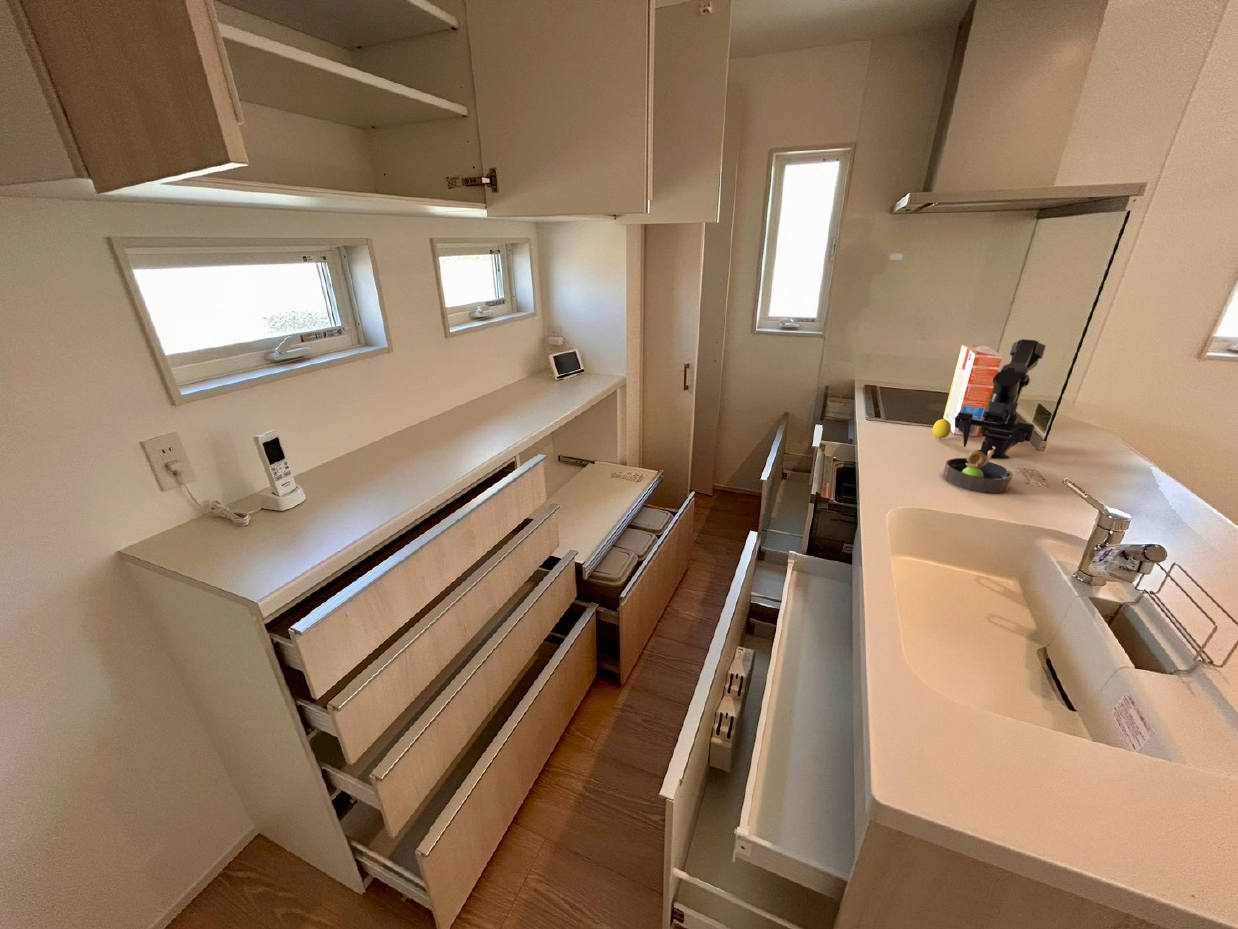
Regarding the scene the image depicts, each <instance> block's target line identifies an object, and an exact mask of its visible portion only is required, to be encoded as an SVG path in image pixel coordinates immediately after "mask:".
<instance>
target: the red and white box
mask: <svg viewBox="0 0 1238 929" xmlns="http://www.w3.org/2000/svg"><path fill="white" fill-rule="evenodd" d="M1002 359H1003V355H1002V354H1001V353H999V352H997V351H995V350H994V349H993V348H991V347H989V346H987V345H978V344H977V345H975V344H961V347H960V351H959V356H958V360H957V363H956V367H955V371H954V374H953V379H952V382H951V386H950V390H949V393H948V398H947V402H946V404H945V410H944V413H943V417H942V419H946V420H948V421H949V422H950V424H951V431H950V432H952V434H953V435H959V436H963V433H962V431H959V428H956V427H955V417H956V414H957V413H958V412H966V413H972V414H973V418H974V419H980V420H983V414H984V411H985V409H986V406H987V403H988V401H991V398H992V397H991V396H992V393H993V389H994V383H993V379H994V377H995V375H996V374H997V372H999V369H1000V365H1001V362H1002ZM981 430H982V427H980V426H975V425H971V428H970V434H969V437H980V434H981Z"/></svg>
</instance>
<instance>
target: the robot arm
mask: <svg viewBox="0 0 1238 929" xmlns="http://www.w3.org/2000/svg"><path fill="white" fill-rule="evenodd" d="M1011 346H1012V347H1011V349H1010V352H1009V355H1010V357H1011V360H1010V362H1009V363H1007V364H1005V365H1003V366H1002V368H1001V369H1000V371H998V372H997V374H996V375H995V377H994V379H993V383H994V386H993V390H992V393H993V394H992V395H991V396H992V397H991V398H990V400H989V401H988V403H987V406H986V409H985V411H984V414H983V420H980V419H974V418H973V414H972V413H966V412H958V413H957V414H956V417H955V427H956V428H959V431H962V433H963V435H962V437H963V448H966V447H967V445H968V441H969V437H970V436H969V434H970V428H971V425H975V426H980V427H981V428H983V429H982V433H981V437H984V440H983V441H982V444H981V446H980V449H977V450H976V451H980V452H982V453H984V455H985V457H986V456H987V454H988V451H990V450H993V451H994V454H993V455H992V456H991V458H990V459H1002V458H1003V459H1004V458H1005V459H1009V458H1010V456H1009V455H1008V454H1007V452H1008V451H1009V450H1010V449H1011V448H1013V447H1014V446H1016V445H1017V444H1019V443H1024V442H1030V441H1031V440H1032V438H1033V435H1034V431H1035V428H1036V426H1035V424H1034V423H1031V422H1026V421H1025V422H1024V421H1017V420H1018V415H1017V409H1018V406H1019V399H1020V396H1021V394H1022V391H1023V388H1026V387H1028V385H1030V383H1031V379H1030V377H1031V376H1030V375H1029V372H1030V371H1031V370H1033V369H1034V368H1035V367H1037V366H1038V364H1039V361H1040V360H1042V359H1043V358H1044V355H1045V351H1046V344H1043V343H1041V342H1040V341H1039V340H1037V339H1027V338H1026V339H1025V338H1022V339H1018V341H1014V342H1013V343H1012V345H1011ZM993 446H994V447H996V449H994V448H992V447H993Z"/></svg>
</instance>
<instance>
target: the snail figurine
mask: <svg viewBox="0 0 1238 929" xmlns="http://www.w3.org/2000/svg"><path fill="white" fill-rule="evenodd" d="M992 448H994V449H996V447H994V446H993V447H992ZM993 454H994V451H993V450H990V451H988V454H987V456H986V455H984V453H982V452H980V451H977V450H974V451H971V452H969V453H968V454H967V456H966V458H967V461H968V463H966V465H967V466H968V467H967V468H965V469H964V470H963V471H962V473H965V474H968V475H972V476H976V477H982V478H983V476H984V475H983V472H982V471H981V470H980V469H979V468H980V467H983V466H985V465H986V464H987V463H988V462H990V460H991V459H992V458H991V456H992V455H993Z"/></svg>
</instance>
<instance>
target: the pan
mask: <svg viewBox="0 0 1238 929" xmlns="http://www.w3.org/2000/svg"><path fill="white" fill-rule="evenodd" d="M966 463H968V461H967V457H955V458H949V459H947V460H946V461H945V465H944V469H943V473H942V477H943V479H944V480H945V481H947V482H949V483H950V484H952V485H954V486H957V487H959V488H962V489H964V490H968V491H973V492H978V493H987V494H993V493H994V494H997V493H1003V492H1006V491H1007V490H1009V488H1010V486H1011V483H1012V479H1013V476H1014V475H1013V472H1012V471H1011V470H1010V469H1008V468H1006V467H1004V466H1003V465H1000V464H997V463H995V462H991V461H989V462H988V463H987V464H986V465H985V466H983V467H980V468H979V469H980V470H981V471H982V472H983V475H984V476H983V478H982V477H976V476H972V475H968V474H965V473H962V471H963V470H964V469H965V468H967V467H968V466H967V465H966Z"/></svg>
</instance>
